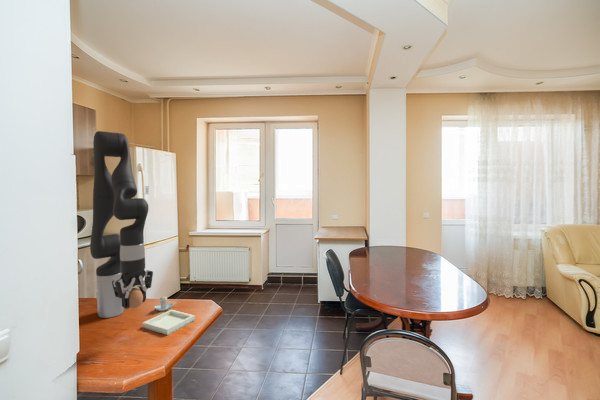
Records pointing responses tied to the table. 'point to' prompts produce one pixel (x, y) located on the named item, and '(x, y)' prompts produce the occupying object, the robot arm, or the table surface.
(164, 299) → the pacifier
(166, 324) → the dish
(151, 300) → the table surface
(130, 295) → the egg
